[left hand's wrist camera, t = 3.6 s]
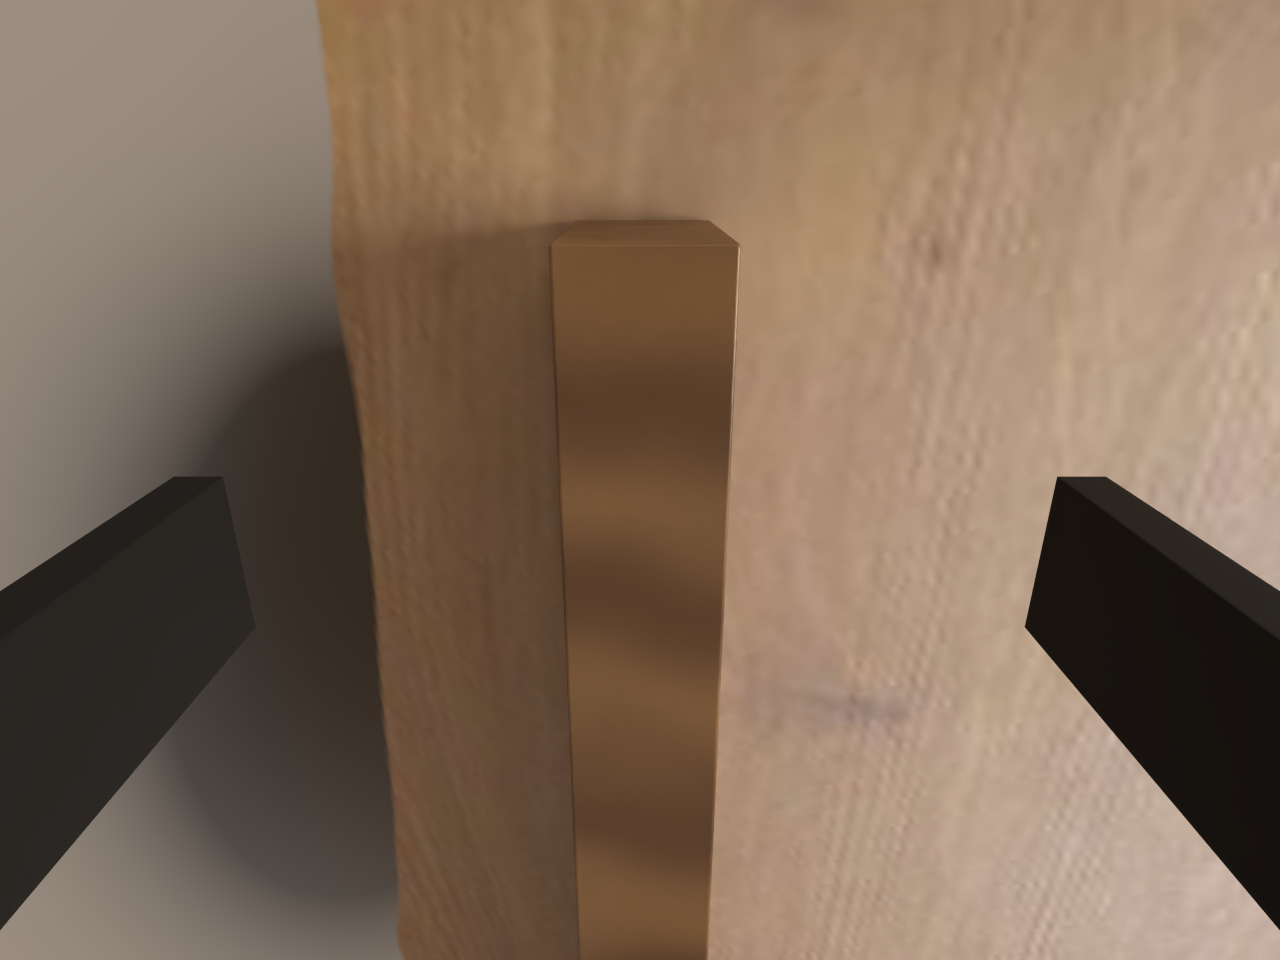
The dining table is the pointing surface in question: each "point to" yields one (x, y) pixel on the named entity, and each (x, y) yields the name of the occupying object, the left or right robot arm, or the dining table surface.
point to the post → (644, 567)
